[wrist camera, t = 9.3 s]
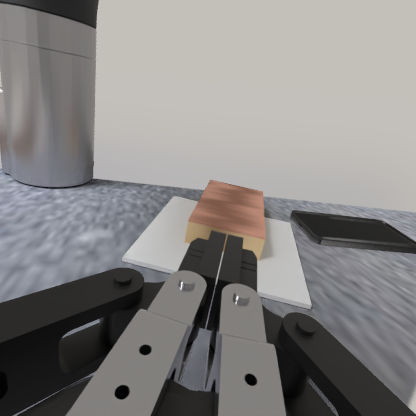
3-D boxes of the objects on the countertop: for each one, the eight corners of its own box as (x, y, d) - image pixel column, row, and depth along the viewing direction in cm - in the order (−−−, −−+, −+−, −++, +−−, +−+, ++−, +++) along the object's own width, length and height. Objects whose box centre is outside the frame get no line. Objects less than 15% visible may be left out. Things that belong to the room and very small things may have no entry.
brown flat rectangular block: (188, 219, 25) (210, 179, 37) (184, 242, 26) (207, 196, 38) (265, 237, 25) (262, 191, 36) (258, 260, 25) (258, 208, 37)
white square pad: (122, 261, 22) (122, 257, 22) (173, 198, 36) (174, 195, 36) (310, 309, 21) (311, 305, 21) (289, 225, 35) (290, 222, 35)
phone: (427, 249, 34) (317, 238, 31) (422, 257, 35) (313, 247, 32) (382, 219, 41) (288, 208, 38) (378, 226, 42) (286, 216, 39)
